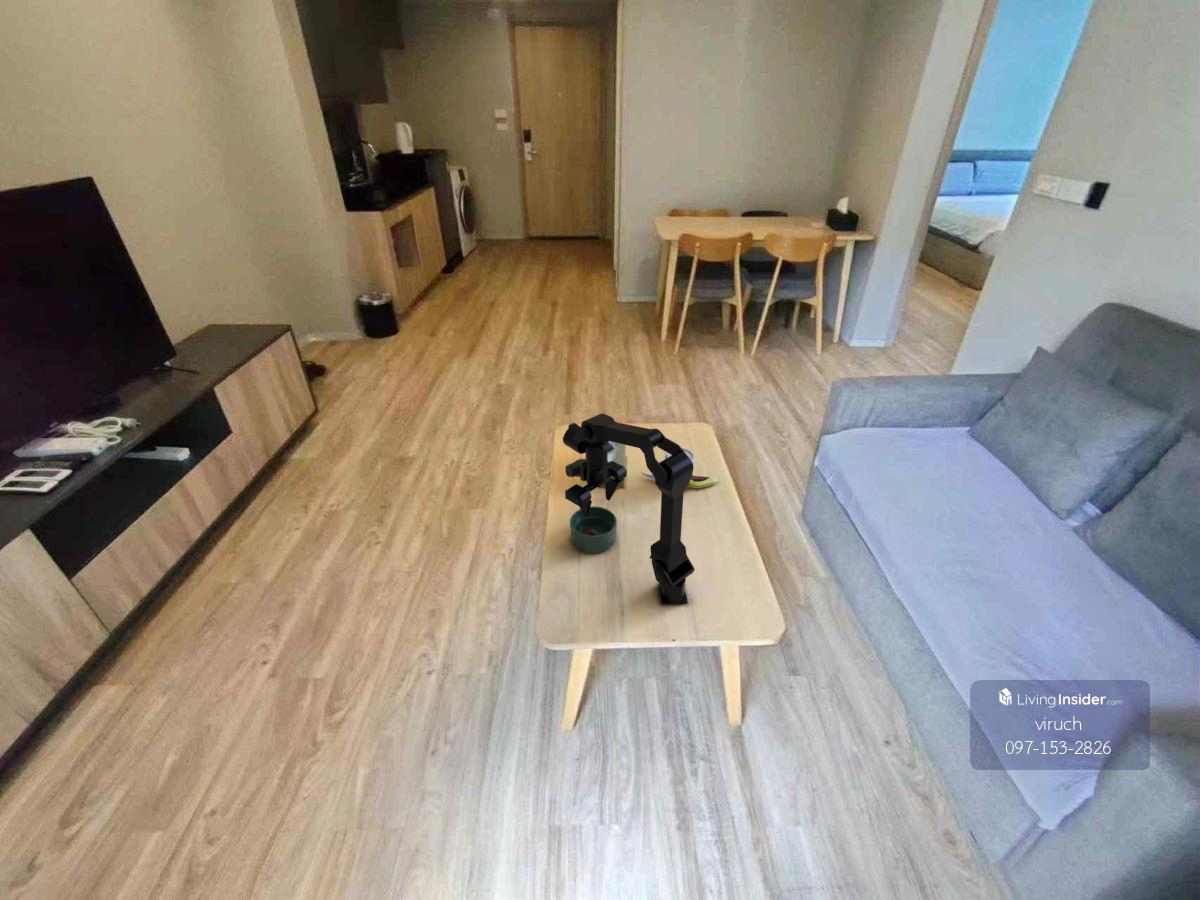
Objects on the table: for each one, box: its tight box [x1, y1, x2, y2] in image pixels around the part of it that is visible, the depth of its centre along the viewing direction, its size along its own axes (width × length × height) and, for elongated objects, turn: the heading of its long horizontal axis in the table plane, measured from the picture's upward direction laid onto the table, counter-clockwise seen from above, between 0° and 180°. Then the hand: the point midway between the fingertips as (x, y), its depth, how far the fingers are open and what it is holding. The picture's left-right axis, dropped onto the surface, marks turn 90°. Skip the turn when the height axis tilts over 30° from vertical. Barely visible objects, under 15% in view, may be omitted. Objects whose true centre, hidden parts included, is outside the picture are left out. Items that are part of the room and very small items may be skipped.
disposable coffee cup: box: [664, 447, 696, 491], centre depth 170 cm, size 10×10×12 cm
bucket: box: [569, 505, 618, 554], centre depth 151 cm, size 13×13×6 cm
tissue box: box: [600, 441, 627, 489], centre depth 176 cm, size 19×10×16 cm, turn 176°
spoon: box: [581, 526, 602, 536], centre depth 152 cm, size 9×4×2 cm, turn 48°
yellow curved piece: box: [640, 471, 719, 489], centre depth 175 cm, size 8×3×25 cm
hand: (596, 507), depth 146 cm, fingers open, 9 cm apart
